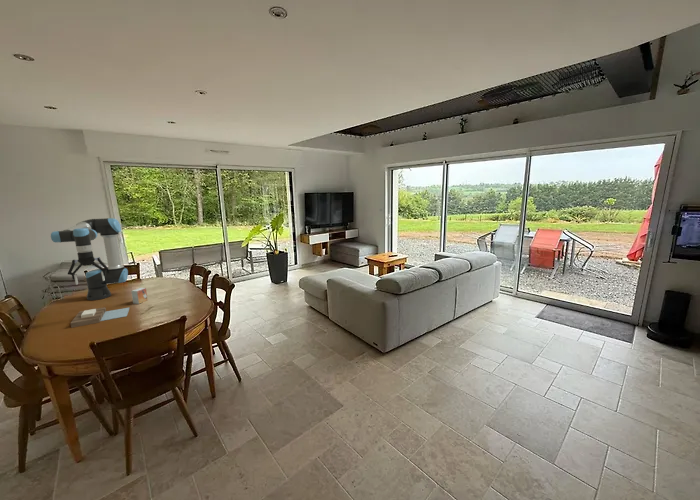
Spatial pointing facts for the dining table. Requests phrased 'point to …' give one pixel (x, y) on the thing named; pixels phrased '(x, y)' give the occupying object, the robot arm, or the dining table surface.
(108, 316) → the mat
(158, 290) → the dining table surface
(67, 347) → the dining table surface
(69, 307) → the dining table surface
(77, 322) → the deck
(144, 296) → the small box
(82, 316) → the white flat block
